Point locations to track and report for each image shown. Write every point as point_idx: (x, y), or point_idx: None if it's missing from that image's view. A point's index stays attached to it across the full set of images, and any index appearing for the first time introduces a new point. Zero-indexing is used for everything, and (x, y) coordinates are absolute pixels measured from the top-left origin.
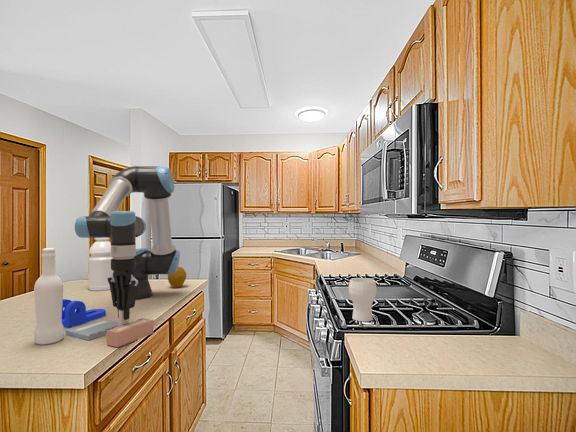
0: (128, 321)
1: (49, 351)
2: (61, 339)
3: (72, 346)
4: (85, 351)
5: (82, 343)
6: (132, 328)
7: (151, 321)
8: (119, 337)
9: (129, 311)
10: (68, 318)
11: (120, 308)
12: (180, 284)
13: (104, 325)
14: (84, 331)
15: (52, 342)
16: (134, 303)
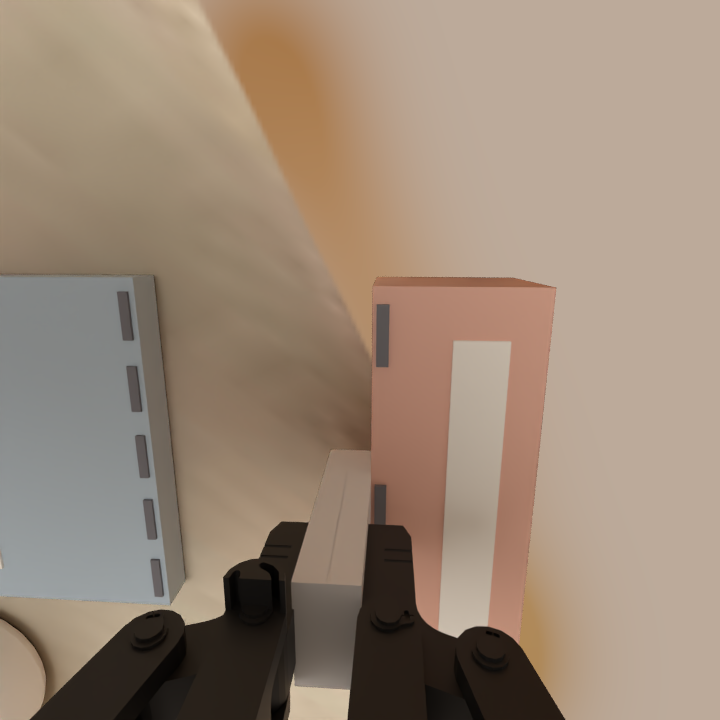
0: (370, 486)
1: None
2: (26, 640)
3: None
4: (345, 694)
5: (199, 622)
6: (523, 550)
7: (549, 313)
8: None
9: (413, 590)
10: None
11: (291, 675)
12: None
13: (22, 396)
14: (42, 554)
15: (44, 693)
16: (552, 712)
